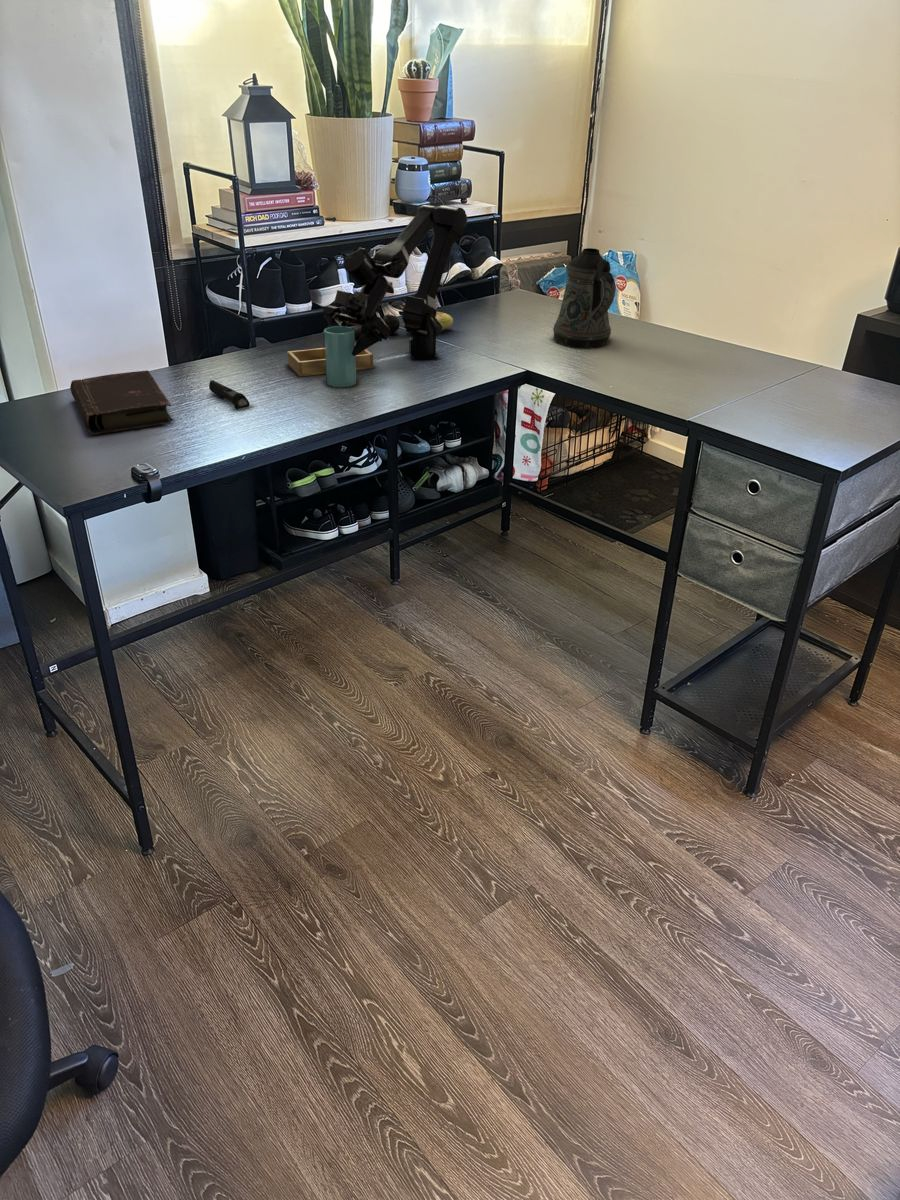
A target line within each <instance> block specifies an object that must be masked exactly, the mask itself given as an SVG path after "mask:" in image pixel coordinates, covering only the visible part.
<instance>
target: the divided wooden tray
mask: <svg viewBox="0 0 900 1200" xmlns="http://www.w3.org/2000/svg"><path fill="white" fill-rule="evenodd" d="M355 345H356V343H355ZM355 359H356V371H360V370H367V369H374V354H373V353H372V352H371V351H369V350H368V348H367V349H365V350H364V351H362V352H361V353H359V354H358V355H356V356H355ZM287 361H288V362H287V364H288V367H290V368H291V369H292V370H293V371H294V373H295V374H296V375H297V376H298V377H307V376H317V375H325V374H326V359H325V347H320V348H319V347H318V348H308V349H301V350H300V349H299V350H289V351H287Z"/></svg>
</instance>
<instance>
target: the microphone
mask: <svg viewBox="0 0 900 1200" xmlns="http://www.w3.org/2000/svg"><path fill="white" fill-rule="evenodd" d="M382 319H383V321H384V322H385V323H386V324H387V325H388V327H389V328H390V336H391V335H394V334H395V333H396V332H398V330H399V329H400V326H401V323H400V320H399V318H398V317H397V316H396V315H393V314H390V313H387V314H385V315H384V316H383V318H382ZM361 329H362V327H358V328H354V334H355V340H358V339H359V337H360V335H361Z"/></svg>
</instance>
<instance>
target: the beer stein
mask: <svg viewBox="0 0 900 1200" xmlns="http://www.w3.org/2000/svg"><path fill="white" fill-rule="evenodd" d="M611 270H612V269H611V264H610V261H608V260H606V259H605V258H604V257H603V256H602V255H601V253H600V249H597V248H594V247H593V248H592V247H588V248H587V247H586V248H583V249H582V251H581V252H580V253H579V254H578V255H577V256H575V257H574V258H573V259H571V260H570V261H569V262H568V263H567V264H566V265H565V273H566V275H567V278H566V283H565V288H564V291H563V292H564V293H563V297H562V300H561V301H562V302H561V306H560V310H559V312H558V316H557V319H556V321H555V323H554V324H553V327H552V331H553V339H554V341H555V343H556V344H559V345H561V346H564V347H570V348H577V349H595V348H601V347H604V346H606V345H608V342H609V340H610V337H611V334H612V328H611V325H610V319H609V317H610V316H609V310H610V308H611V307H612V304H613V303H614V300H615V297H616V293H617V291H616V290H617V286H616V281H615V278H614V275H613V274H612V273H611Z"/></svg>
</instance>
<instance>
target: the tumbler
mask: <svg viewBox="0 0 900 1200" xmlns="http://www.w3.org/2000/svg"><path fill="white" fill-rule="evenodd" d="M354 330H355V328H353V327H352V326H348V325H347V326H332V327H328V326H327V327H325V328H324V329H323V338H324V348H325V359H326V376H325V377H326V384H327V385H328V386H330V387H333V388H349V387H353V386H355V385H356V384H357V370H356V359H355V356H353V355H352V351H353V349H354V347H355V344H356V339H355V334H354Z"/></svg>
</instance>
